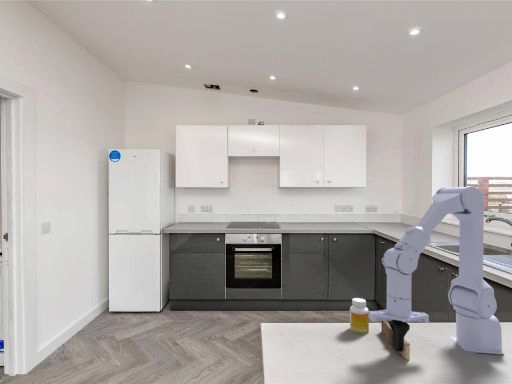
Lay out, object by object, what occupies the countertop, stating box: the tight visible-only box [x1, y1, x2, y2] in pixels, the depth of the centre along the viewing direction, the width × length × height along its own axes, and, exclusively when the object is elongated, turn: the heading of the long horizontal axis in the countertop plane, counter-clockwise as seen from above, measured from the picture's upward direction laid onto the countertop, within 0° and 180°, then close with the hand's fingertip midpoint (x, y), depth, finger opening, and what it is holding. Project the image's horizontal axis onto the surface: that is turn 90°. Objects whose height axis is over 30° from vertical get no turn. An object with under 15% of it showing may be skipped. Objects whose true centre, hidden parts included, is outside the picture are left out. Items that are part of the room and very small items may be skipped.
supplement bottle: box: [349, 297, 370, 335], centre depth 87 cm, size 5×5×10 cm
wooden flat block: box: [392, 332, 411, 360], centre depth 74 cm, size 7×1×4 cm, turn 1°
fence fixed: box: [380, 321, 393, 346], centre depth 83 cm, size 2×9×5 cm, turn 172°
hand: (398, 349), depth 74 cm, fingers closed, pressing on wooden flat block
